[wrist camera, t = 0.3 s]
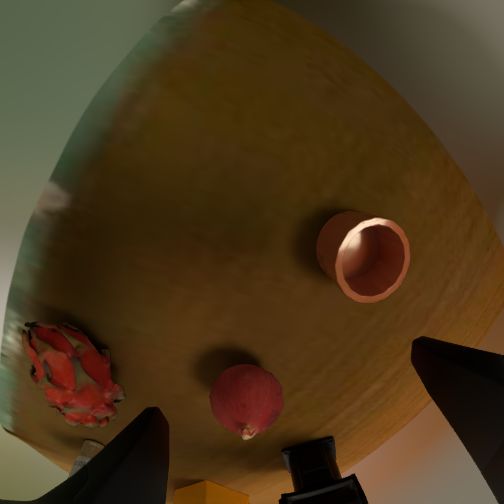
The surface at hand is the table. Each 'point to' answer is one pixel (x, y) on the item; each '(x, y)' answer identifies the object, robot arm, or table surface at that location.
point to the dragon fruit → (72, 374)
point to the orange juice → (208, 494)
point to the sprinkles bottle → (86, 455)
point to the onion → (246, 399)
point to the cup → (363, 255)
